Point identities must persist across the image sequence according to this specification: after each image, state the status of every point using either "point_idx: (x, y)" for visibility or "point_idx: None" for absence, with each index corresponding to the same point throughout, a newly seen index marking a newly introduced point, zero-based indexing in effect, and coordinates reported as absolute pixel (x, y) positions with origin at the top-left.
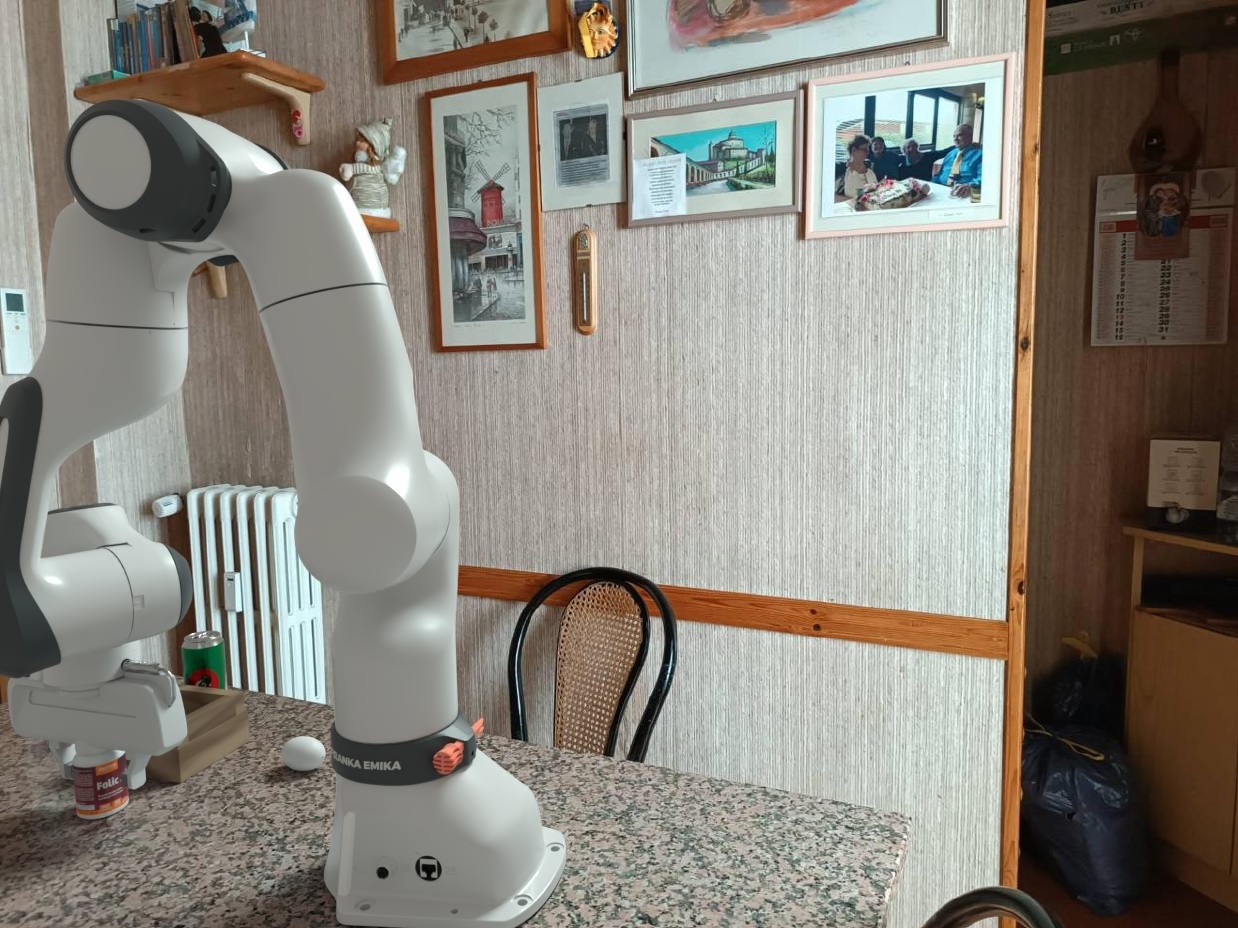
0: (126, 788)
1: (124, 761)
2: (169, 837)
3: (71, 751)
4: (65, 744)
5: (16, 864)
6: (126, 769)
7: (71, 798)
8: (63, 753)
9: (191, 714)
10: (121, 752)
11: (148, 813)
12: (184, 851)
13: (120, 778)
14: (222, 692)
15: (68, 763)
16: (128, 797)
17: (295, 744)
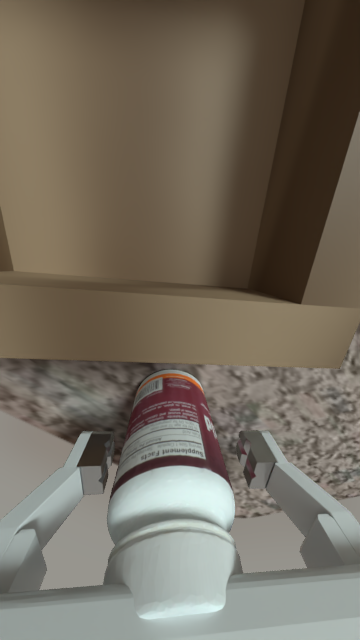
0: (206, 404)
1: (222, 459)
2: (307, 423)
3: (56, 502)
4: (41, 564)
5: None
6: (204, 421)
7: (91, 385)
8: (54, 523)
9: (350, 211)
10: (233, 502)
11: (246, 391)
12: (337, 437)
13: (244, 474)
14: None
15: (87, 490)
16: (196, 381)
17: None
